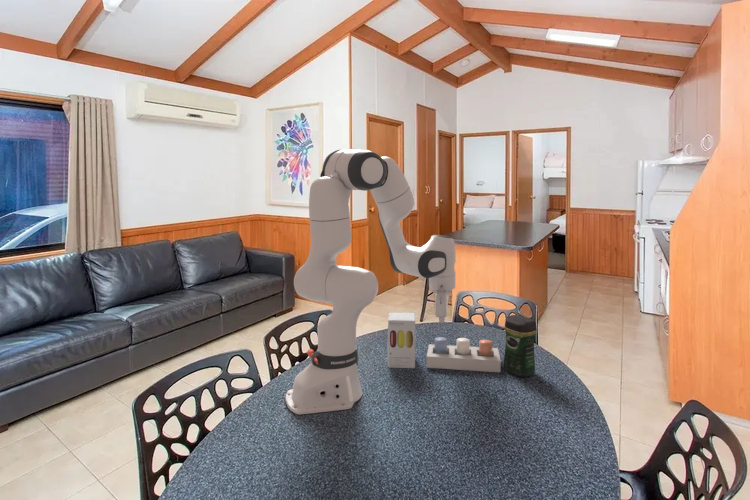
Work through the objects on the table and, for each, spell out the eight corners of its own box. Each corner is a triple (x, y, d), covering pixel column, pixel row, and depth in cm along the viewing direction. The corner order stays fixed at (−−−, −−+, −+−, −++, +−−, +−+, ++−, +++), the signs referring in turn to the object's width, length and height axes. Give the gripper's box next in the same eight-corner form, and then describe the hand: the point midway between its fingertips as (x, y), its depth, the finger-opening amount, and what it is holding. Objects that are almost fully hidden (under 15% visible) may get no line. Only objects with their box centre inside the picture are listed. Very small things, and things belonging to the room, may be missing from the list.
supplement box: (387, 368, 148) (386, 320, 145) (388, 357, 157) (387, 311, 154) (415, 368, 147) (415, 320, 144) (415, 357, 156) (415, 311, 153)
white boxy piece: (426, 367, 148) (426, 356, 147) (428, 354, 158) (428, 344, 158) (500, 372, 143) (500, 360, 142) (497, 358, 154) (497, 348, 153)
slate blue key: (434, 352, 150) (434, 341, 149) (434, 347, 154) (434, 336, 153) (447, 353, 149) (447, 342, 148) (447, 348, 153) (447, 337, 153)
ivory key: (456, 353, 148) (456, 342, 148) (456, 348, 153) (456, 337, 152) (469, 354, 147) (469, 342, 147) (469, 349, 152) (469, 338, 151)
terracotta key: (479, 355, 147) (479, 343, 146) (478, 350, 151) (478, 339, 150) (492, 356, 146) (493, 344, 145) (491, 350, 150) (492, 339, 150)
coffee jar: (539, 374, 142) (541, 318, 139) (522, 380, 137) (524, 323, 135) (515, 363, 150) (517, 311, 147) (498, 369, 146) (500, 315, 143)
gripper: (450, 290, 137) (450, 332, 139) (452, 275, 157) (451, 312, 159) (430, 290, 138) (430, 331, 141) (434, 275, 158) (434, 311, 160)
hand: (441, 321), depth 150 cm, fingers closed
